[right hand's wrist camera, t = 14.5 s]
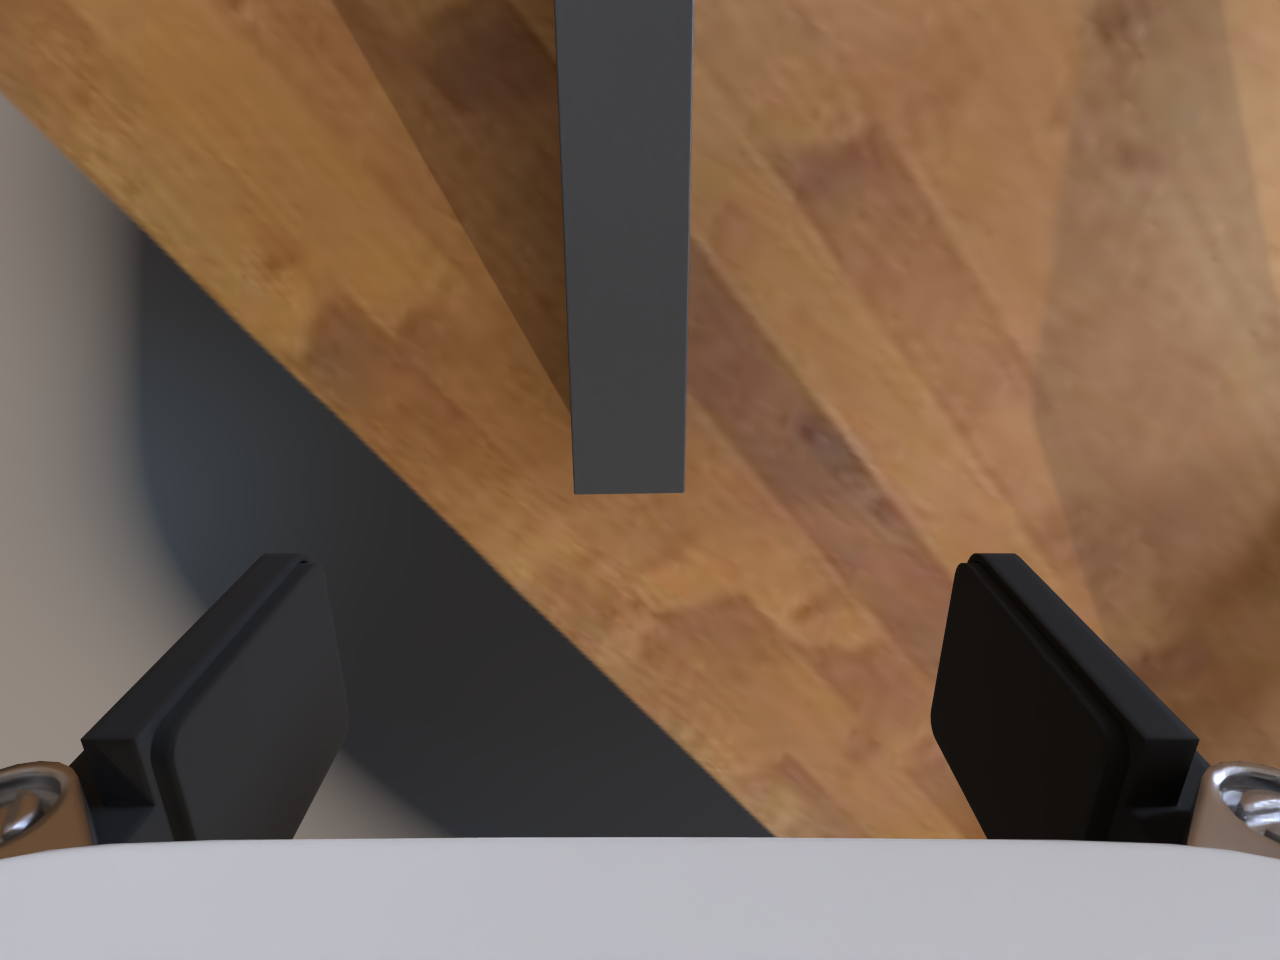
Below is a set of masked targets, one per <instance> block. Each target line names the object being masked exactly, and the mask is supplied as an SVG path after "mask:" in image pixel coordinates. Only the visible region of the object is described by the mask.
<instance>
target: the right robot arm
mask: <svg viewBox="0 0 1280 960" xmlns="http://www.w3.org/2000/svg"><path fill="white" fill-rule="evenodd" d="M348 726H349V708H348V702H347V697H346V691H345V685H344V680H343V674H342V668H341V662H340V657H339V651H338V645H337V640H336V634H335V628H334V623H333V617H332V611H331V605H330V600H329V594H328V588H327V583H326V577H325V572H324V569H323V567H322V565H321V564H319V563H312V560H311V558H310V557H309V556H308V555H307V554H305V553H299V554H298V553H297V554H296V553H295V554H294V553H292V554H291V553H284V554H283V553H282V554H281V553H280V554H279V553H277V554H276V553H275V554H274V553H271V554H264V555H262V556H261V557H260V558H259V559H258V560H257V561H256V562H255V563H254V564H253V565H252V566H251V567H250V568H249V569H248V570H247V571H246V572H245V573H244V574H243V575H242V576H241V577H240V578H239V579H238V580H237V581H236V582H235V583H234V584H233V585H232V586H231V587H230V588H229V589H228V590H227V591H226V592H225V594H223V595H222V596H221V597H220V598H219V600H217V602H216V603H215V604H214V605H213V606H212V607H211V608H210V609H209V610H208V611H207V612H206V613H205V614H204V615H203V616H202V617H201V618H200V619H199V620H198V621H197V622H196V623H195V624H194V625H193V626H192V627H191V628H190V629H189V630H188V631H187V632H186V633H185V634H184V635H183V636H182V637H181V638H180V639H179V640H178V641H177V642H176V643H175V644H174V645H173V646H172V647H171V648H170V649H169V650H168V651H167V652H166V653H165V654H164V655H163V656H162V657H161V658H160V659H159V660H158V661H157V662H156V663H155V664H154V665H153V666H152V667H151V668H150V670H148V671H147V672H146V674H145V675H144V676H143V677H142V678H141V679H140V680H139V681H138V682H137V683H136V684H135V685H134V686H133V687H132V688H131V689H130V690H129V691H128V692H127V693H126V694H125V695H124V696H123V697H122V698H121V699H120V700H119V701H118V702H117V703H116V704H115V705H114V706H113V707H112V708H111V709H110V710H109V711H108V712H107V713H106V714H105V715H104V716H103V717H102V718H101V719H100V720H99V721H98V722H97V723H96V724H95V725H94V726H93V727H92V728H91V729H90V730H89V731H88V732H87V733H86V734H85V735H84V736H83V737H82V738H81V742H82V745H83V748H84V751H83V752H82V753H81V754H80V755H79V756H78V757H77V758H76V759H75V760H74V761H73V762H72V763H71V764H70V765H69V766H66V765H64V764H62V763H60V762H47V761H37V762H30V763H23V764H17V765H13V766H10V767H6V768H3V769H0V960H1280V769H1277V768H1274V767H1270V766H1267V765H1264V764H1257V763H1250V762H1243V761H1233V762H1220V763H1218V764H1216V765H1213V766H1211V765H1210V764H1209V763H1208V762H1207V761H1206V760H1205V759H1204V758H1203V757H1202V756H1201V755H1200V754H1199V753H1198V752H1197V751H1196V748H1197V745H1198V742H1199V738H1198V737H1197V736H1196V735H1195V734H1194V733H1193V732H1192V731H1191V730H1190V729H1189V728H1188V727H1187V726H1186V725H1185V724H1184V723H1183V722H1182V721H1181V720H1180V719H1179V718H1178V717H1177V716H1176V715H1175V714H1174V713H1173V712H1172V711H1171V710H1170V709H1169V708H1168V707H1167V706H1166V705H1165V704H1164V703H1163V702H1162V701H1161V700H1160V699H1159V698H1158V697H1157V696H1156V695H1155V694H1154V693H1153V692H1152V691H1151V690H1150V689H1149V688H1148V687H1147V686H1146V685H1145V684H1144V683H1143V682H1142V681H1141V680H1140V679H1139V678H1138V677H1137V676H1136V675H1135V673H1134V672H1133V671H1132V670H1131V669H1130V668H1129V667H1128V666H1127V665H1126V664H1125V663H1124V662H1123V661H1122V660H1121V659H1120V658H1119V657H1118V656H1117V655H1116V654H1115V653H1114V652H1113V651H1112V650H1111V649H1110V648H1109V647H1108V646H1107V645H1106V644H1105V643H1104V642H1103V641H1102V640H1101V639H1100V638H1099V637H1098V636H1097V635H1096V634H1095V633H1094V632H1093V631H1092V630H1091V629H1090V628H1089V627H1088V626H1087V625H1086V624H1085V623H1084V622H1083V621H1082V620H1081V619H1080V618H1079V617H1078V616H1077V615H1076V614H1075V613H1074V612H1073V611H1072V610H1071V609H1070V608H1069V607H1068V606H1067V605H1066V604H1065V602H1064V601H1063V600H1062V599H1061V598H1060V597H1059V596H1058V595H1057V594H1056V593H1055V592H1054V591H1053V590H1052V589H1051V588H1050V587H1049V586H1048V585H1047V584H1046V583H1045V582H1044V581H1043V580H1042V579H1041V578H1040V577H1039V576H1038V575H1037V574H1036V573H1035V572H1034V571H1033V570H1032V569H1031V568H1030V567H1029V566H1028V565H1027V564H1026V563H1025V562H1024V561H1023V560H1022V559H1021V558H1020V557H1019V556H1018V555H1016V554H1011V553H974V554H973V555H972V556H971V557H970V558H969V560H968V563H961V564H959V565H958V567H957V569H956V572H955V577H954V583H953V588H952V594H951V600H950V605H949V611H948V617H947V623H946V628H945V634H944V640H943V645H942V651H941V657H940V662H939V668H938V674H937V680H936V685H935V691H934V697H933V702H932V708H931V726H932V731H933V734H934V737H935V739H936V741H937V743H938V745H939V747H940V749H941V751H942V753H943V755H944V757H945V758H946V760H947V762H948V764H949V766H950V768H951V770H952V772H953V774H954V776H955V778H956V780H957V781H958V783H959V785H960V787H961V789H962V791H963V793H964V795H965V797H966V799H967V801H968V803H969V805H970V806H971V808H972V810H973V812H974V814H975V816H976V818H977V820H978V822H979V824H980V826H981V828H982V829H983V831H984V833H985V835H986V837H987V839H880V838H726V837H725V838H724V837H719V838H718V837H716V838H715V837H713V838H712V837H593V838H591V837H589V838H402V839H293V837H294V835H295V833H296V831H297V829H298V828H299V826H300V824H301V822H302V820H303V818H304V816H305V814H306V812H307V810H308V808H309V806H310V804H311V803H312V801H313V799H314V797H315V795H316V793H317V791H318V789H319V787H320V785H321V783H322V781H323V780H324V778H325V776H326V774H327V772H328V770H329V768H330V766H331V764H332V762H333V760H334V758H335V757H336V755H337V753H338V751H339V749H340V747H341V745H342V743H343V741H344V739H345V737H346V734H347V731H348Z"/></svg>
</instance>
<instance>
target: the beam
mask: <svg viewBox="0 0 1280 960" xmlns="http://www.w3.org/2000/svg"><path fill="white" fill-rule="evenodd" d="M554 12H555V37H556V61H557V86H558V110H559V135H560V159H561V184H562V208H563V233H564V257H565V282H566V307H567V331H568V356H569V380H570V405H571V429H572V454H573V478H574V494H638V493H684V491H685V441H686V389H687V336H688V284H689V232H690V180H691V128H692V76H693V24H694V0H554Z"/></svg>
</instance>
